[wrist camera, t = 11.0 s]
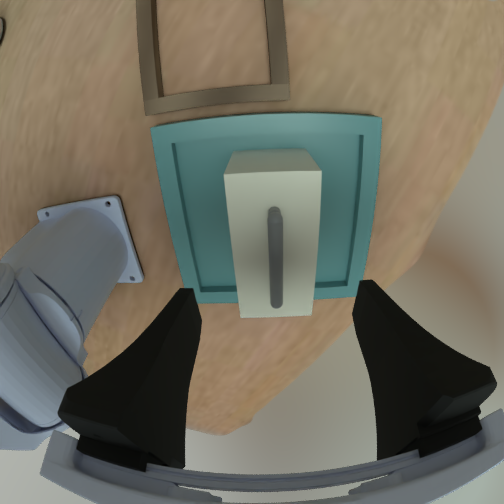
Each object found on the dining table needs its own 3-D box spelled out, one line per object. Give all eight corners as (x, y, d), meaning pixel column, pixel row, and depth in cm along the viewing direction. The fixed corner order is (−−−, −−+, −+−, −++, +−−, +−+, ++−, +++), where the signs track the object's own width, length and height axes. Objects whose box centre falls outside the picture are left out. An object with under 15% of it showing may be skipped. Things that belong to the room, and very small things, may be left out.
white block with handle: (244, 269, 21) (239, 331, 16) (233, 151, 16) (220, 182, 11) (302, 267, 21) (313, 328, 16) (305, 148, 16) (327, 178, 11)
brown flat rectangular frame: (151, 114, 16) (145, 116, 15) (142, -45, 8) (136, -50, 8) (288, 99, 15) (290, 100, 14) (272, -66, 8) (272, -73, 7)
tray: (192, 291, 24) (189, 303, 22) (158, 124, 16) (150, 127, 15) (354, 284, 23) (358, 296, 22) (372, 115, 15) (381, 117, 14)
